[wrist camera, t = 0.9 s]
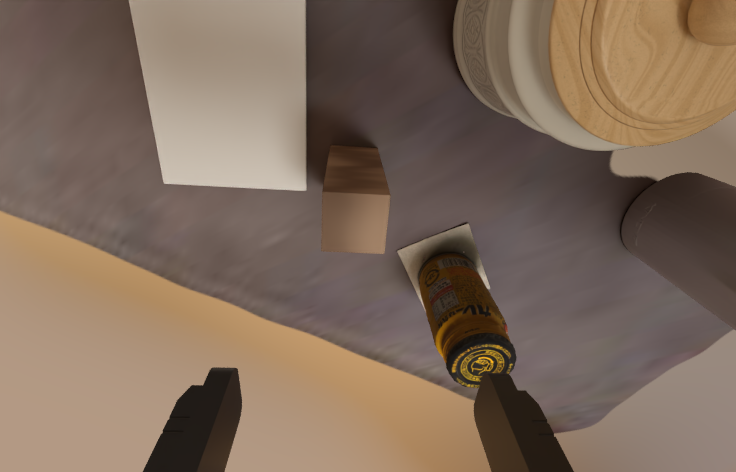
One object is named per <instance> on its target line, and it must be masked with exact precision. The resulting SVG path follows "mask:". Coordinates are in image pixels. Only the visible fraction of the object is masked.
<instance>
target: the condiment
mask: <svg viewBox="0 0 736 472" xmlns="http://www.w3.org/2000/svg"><path fill="white" fill-rule="evenodd" d="M397 252H398V254H399V256H400V258H401V260H402V262H403V265H404V267H405V269H406V271H407V273H408V275H409V277H410V280H411V282H412V284H413V286H414V288H415V290H416V292H417V294H418V297H419V299H420V301H421V303H422V305H423V307H424V309H425V312H426V315H427V317H428V322H429V324H430V328H431V332H432V335H433V339H434V343H435V346H436V348H437V350H438V352H439V353H440V354H441V355H442V356H443V358H444V361H445V363H446V366H447V367H446V368H447V370H448V371H449V374H450V375H451V377H452V378H453V379H454V381H456V382H458V383H459V384H461V385H462V386H465V387H472V388H479V386H480V382H481V379H482V376H483V374H484V373H507V374H510V372H511V371H512V370H513V369H514V366H515V362H516V354H515V349H514V347H513V344H511V342H510V339H509V336H508V331H507V325H506V323H505V320H504V318H503V316H502V314H501V313H500V311H499V309H498V307H497V305H496V304H495V302H494V300H493V298H492V297H491V294H490V293H489V291H488V289H490V286H489V283H488V280H487V277H486V274H485V271H484V268H483V265H482V262H481V259H480V256H479V253H478V250H477V248H476V244H475V242H474V239H473V236H472V233H471V230H470V227H469V224H465V225H462V226H459V227H456V228H454V229H451V230H448V231H446V232H443V233H440V234H437V235H435V236H432V237H430V238H427V239H424V240H422V241H420V242H418V243H415V244H412V245H409V246H408V247H405V248H403V249H400V250H398V251H397ZM463 252H464V253H463ZM424 256H426V257H425V259H423V258H424ZM423 260H424V262H422V261H423Z"/></svg>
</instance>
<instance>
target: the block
mask: <svg viewBox="0 0 736 472" xmlns="http://www.w3.org/2000/svg"><path fill="white" fill-rule="evenodd" d="M390 196H391V195H390V192H389V188H388V184H387V181H386V177H385V174H384V170H383V166H382V163H381V159H380V156H379V152H378V148H369V147H353V146H337V145H330V150H329V156H328V162H327V168H326V174H325V179H324V185H323V191H322V242H321V251H327V252H353V253H378V254H384V251H385V242H386V232H387V223H388V214H389V205H390Z"/></svg>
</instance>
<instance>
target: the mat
mask: <svg viewBox="0 0 736 472" xmlns="http://www.w3.org/2000/svg"><path fill="white" fill-rule="evenodd" d="M129 4H130V10H131V15H132V20H133V25H134V30H135V36H136V41H137V46H138V51H139V56H140V62H141V67H142V72H143V77H144V82H145V88H146V93H147V98H148V103H149V108H150V114H151V119H152V124H153V129H154V134H155V140H156V145H157V150H158V155H159V160H160V166H161V171H162V176H163V181H164V184H182V185H201V186H220V187H240V188H259V189H278V190H297V191H306V189H307V137H306V0H129Z"/></svg>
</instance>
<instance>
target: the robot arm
mask: <svg viewBox="0 0 736 472" xmlns="http://www.w3.org/2000/svg"><path fill="white" fill-rule="evenodd" d="M621 235H622V241H623V243H624V245H625V247H626V248H627V249H628V250H629V251H630V252H631V253H632V254H633V255H635V256H636V257H637V258H639V259H640V260H642V261H643V262H644V263H646V264H647V265H648V266H650V267H651V268H652V269H654V270H655V271H656V272H658V273H659V274H660V275H661V276H663V277H664V278H665V279H667V280H668V281H670V282H671V283H672V284H674V285H675V286H676V287H678V288H679V289H680V290H682V291H683V292H684V293H686V294H687V295H688V296H690V297H691V298H693V299H694V300H695V301H697V302H698V303H699V304H701V305H702V306H703V307H705V308H706V309H707V310H709V311H710V312H711V313H713V314H714V315H716V316H717V317H718V318H720V319H721V320H722V321H724V322H725V323H726V324H728V325H729V326H730V327H732V328H733V329H734V330H736V187H735V186H732V185H729V184H727V183H724V182H721V181H718V180H715V179H713V178H710V177H707V176H704V175H702V174H699V173H688V172H687V173H680V174H675V175H672V176H669V177H666V178H664V179H662V180H660V181H658V182H656V183H654V184H653V185H651V186H650V187H649V188H647V189H646V190H645V191H644V192H642V193H641V194H640V195H639V196H638V197H637V198H636V200H635V201H634V202H633V203H632V205H631V206H630V207H629V209H628V211H627V213H626V215H625V217H624V220H623V223H622V230H621ZM241 409H242V397H241V390H240V382H239V375H238V369H237V368H211V370H210V372H209V373H208V376H207V378H206V380H205V383H204V385H203V386H202V385H201V386H199V385H196V386H195V385H192V386H191V387H190V388H189V389H188V390H187V391H186V392H185V393H184V394H183V395H182V396H181V397H180V398H179V399H178V400H177V402H176V404H175V407H174V409H173V411H172V413H171V415H170V419H169V420H168V421H167V423H166V425H165V427H164V429H163V433H162V434H161V436H160V438H159V439H158V441H157V444H156V446H155V448H154V450H153V452H152V454H151V456H150V458H149V460H148V462H147V464H146V466H145V468H144V471H143V472H224V471H225V468H226V464H227V461H228V458H229V454H230V451H231V448H232V444H233V441H234V437H235V434H236V431H237V427H238V424H239V420H240V416H241ZM474 417H475V422H476V426H477V428H478V432H479V434H480V438H481V441H482V444H483V447H484V450H485V452H486V456H487V459H488V462H489V465H490V468H491V471H492V472H574V471H573V469H572V467H571V465H570V464H569V462H568V460H567V458H566V456H565V454H564V452H563V450H562V448H561V447H560V444H559V443H558V441H557V439H556V437H554V433H553V431H552V429H551V427H550V425H549V424H548V423H547V419H546V417H545V416H544V414H543V412H542V410H541V408H540V406H539V404H538V403H537V402H536V401H535V400H534V399H533V398H532V397H531V396H530V395H529V394H528V393H527V392H526V391H518V390H517V388H516V386H515V384H514V382H513V380H512V378H511V376H510V375H509V374H507V373H484V374H483V376H482V379H481V382H480V386H479V389H478V393H477V396H476V399H475V403H474Z"/></svg>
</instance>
